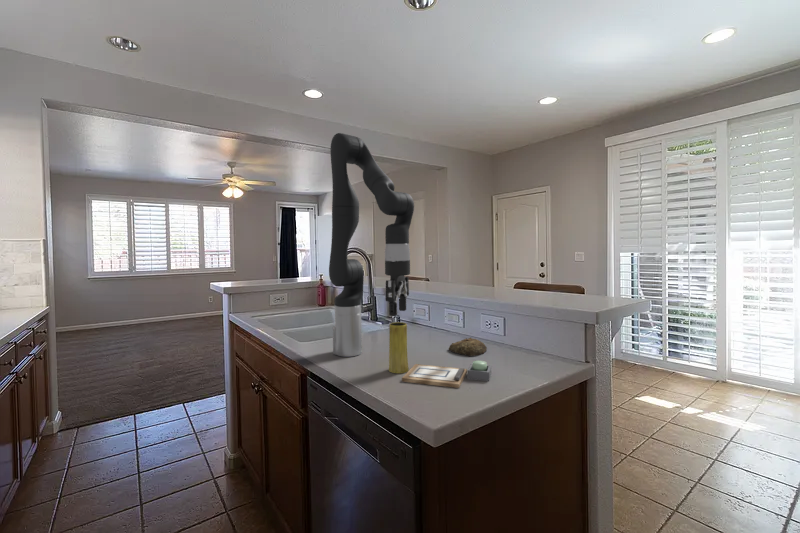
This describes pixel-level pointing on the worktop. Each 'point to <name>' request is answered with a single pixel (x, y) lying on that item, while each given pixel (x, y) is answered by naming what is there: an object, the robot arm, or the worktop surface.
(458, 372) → the clipboard
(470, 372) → the button housing
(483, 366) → the button
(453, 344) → the bread roll
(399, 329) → the vase
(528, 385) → the worktop surface
